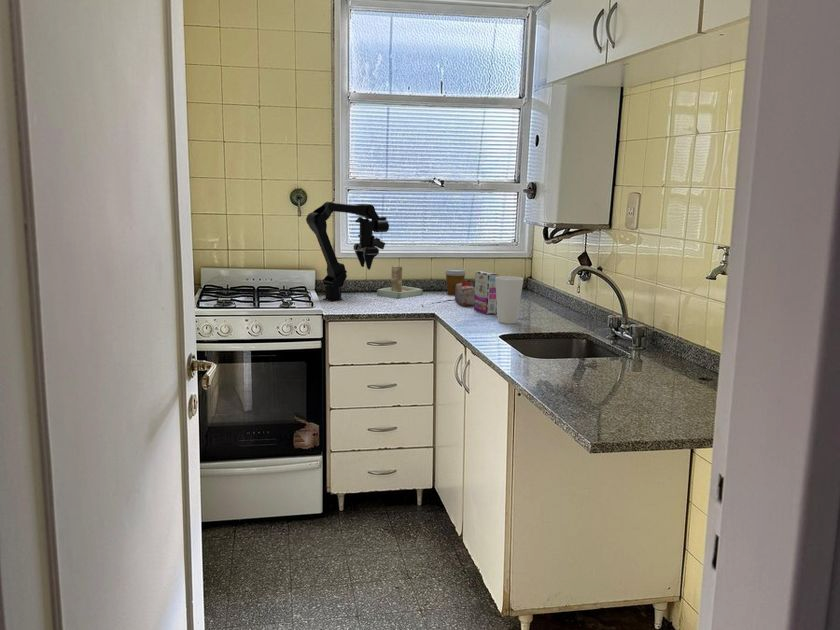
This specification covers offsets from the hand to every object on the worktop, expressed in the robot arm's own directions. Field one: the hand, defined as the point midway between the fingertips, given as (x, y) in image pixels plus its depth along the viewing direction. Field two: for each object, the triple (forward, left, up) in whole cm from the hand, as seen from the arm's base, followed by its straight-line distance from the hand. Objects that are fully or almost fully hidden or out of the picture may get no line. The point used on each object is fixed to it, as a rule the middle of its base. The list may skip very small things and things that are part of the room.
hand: (365, 268), depth 340 cm
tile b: (+17, -7, -12) cm, 22 cm away
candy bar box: (+10, -58, -13) cm, 60 cm away
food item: (+19, -41, -13) cm, 47 cm away
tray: (+12, -10, -13) cm, 20 cm away
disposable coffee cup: (+33, -25, -13) cm, 43 cm away
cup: (-1, -76, -13) cm, 77 cm away
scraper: (+9, -10, -12) cm, 18 cm away
